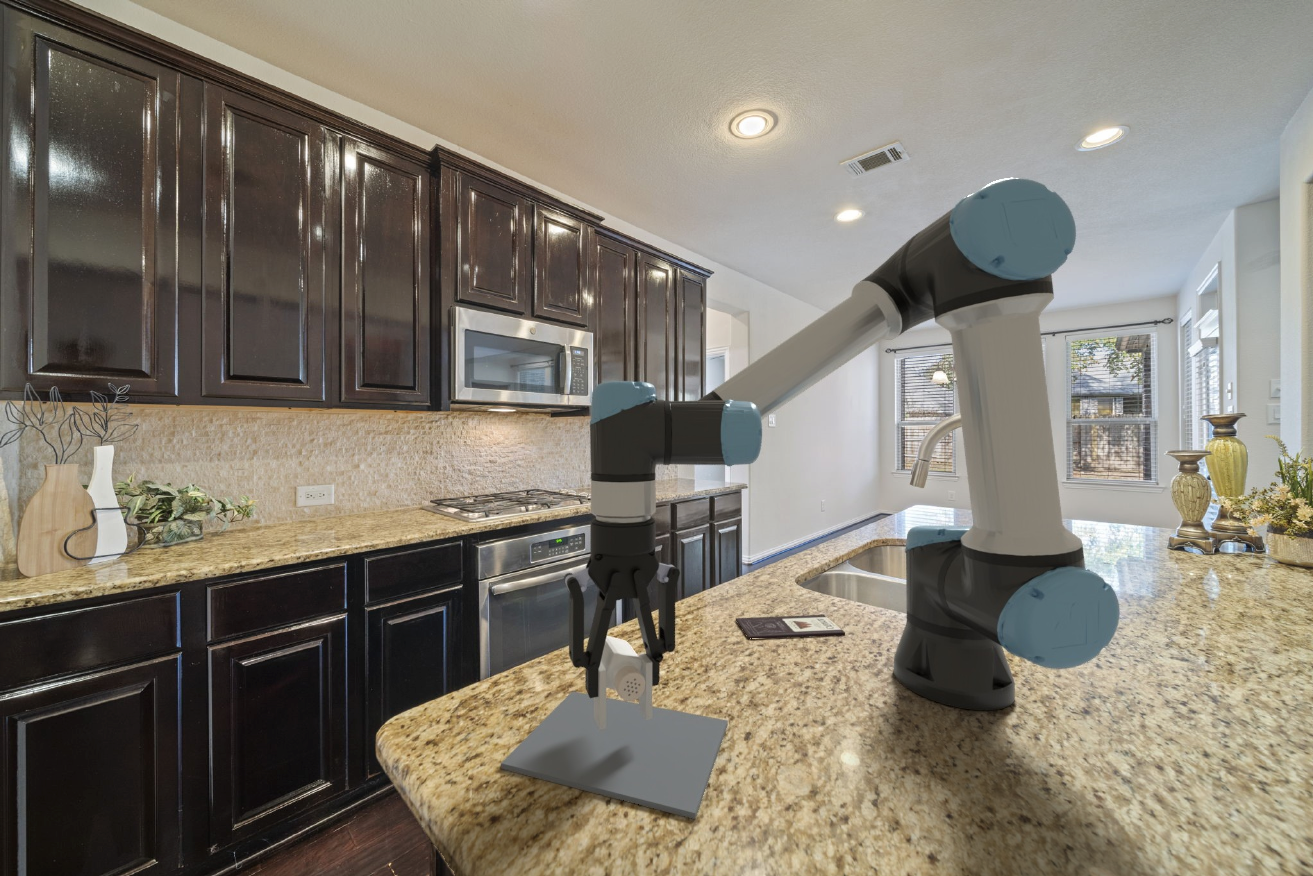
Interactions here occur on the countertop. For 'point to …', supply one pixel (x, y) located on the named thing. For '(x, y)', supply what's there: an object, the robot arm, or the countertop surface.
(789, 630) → the chocolate bar
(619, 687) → the salt shaker
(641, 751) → the rubber mat
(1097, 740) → the countertop surface
